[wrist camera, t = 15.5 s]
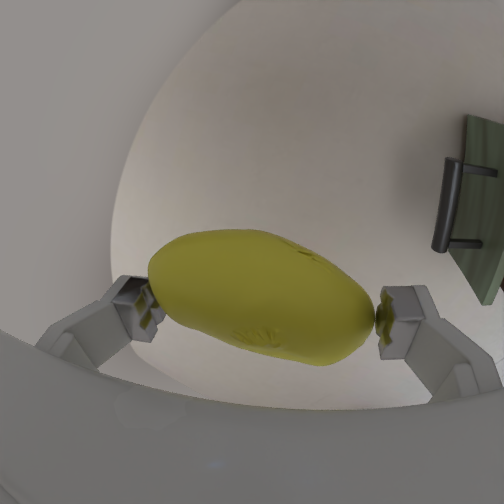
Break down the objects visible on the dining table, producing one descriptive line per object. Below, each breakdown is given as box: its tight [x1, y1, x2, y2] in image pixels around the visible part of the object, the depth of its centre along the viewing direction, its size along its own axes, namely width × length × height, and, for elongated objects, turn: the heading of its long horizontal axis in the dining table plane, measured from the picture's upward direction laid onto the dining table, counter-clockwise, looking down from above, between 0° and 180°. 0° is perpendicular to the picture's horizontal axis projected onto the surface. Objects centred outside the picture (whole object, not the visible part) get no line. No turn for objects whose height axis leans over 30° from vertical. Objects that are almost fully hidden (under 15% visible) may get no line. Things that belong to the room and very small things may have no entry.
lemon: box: [148, 229, 375, 366], centre depth 9 cm, size 4×8×4 cm, turn 72°
